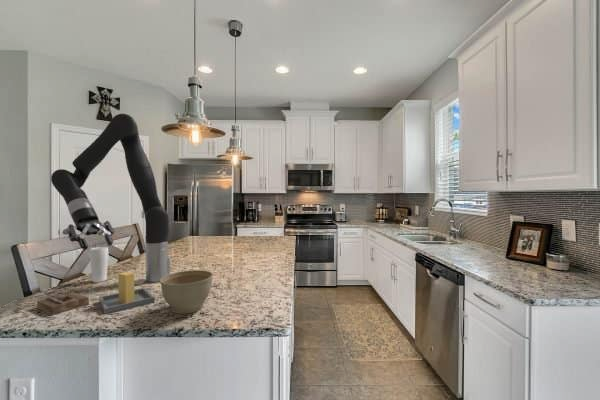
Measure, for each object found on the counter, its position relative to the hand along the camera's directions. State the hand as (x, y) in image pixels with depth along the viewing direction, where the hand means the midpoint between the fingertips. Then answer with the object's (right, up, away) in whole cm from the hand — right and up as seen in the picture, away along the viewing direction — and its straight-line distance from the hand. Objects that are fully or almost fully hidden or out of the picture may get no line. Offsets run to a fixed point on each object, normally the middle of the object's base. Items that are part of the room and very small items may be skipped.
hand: (99, 246), depth 104 cm
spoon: (+5, -20, +10) cm, 23 cm away
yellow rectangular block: (+14, -19, -5) cm, 24 cm away
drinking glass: (-15, -20, +21) cm, 33 cm away
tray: (+14, -19, -5) cm, 24 cm away
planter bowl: (+38, -19, -12) cm, 44 cm away
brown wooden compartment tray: (-6, -19, -8) cm, 22 cm away
